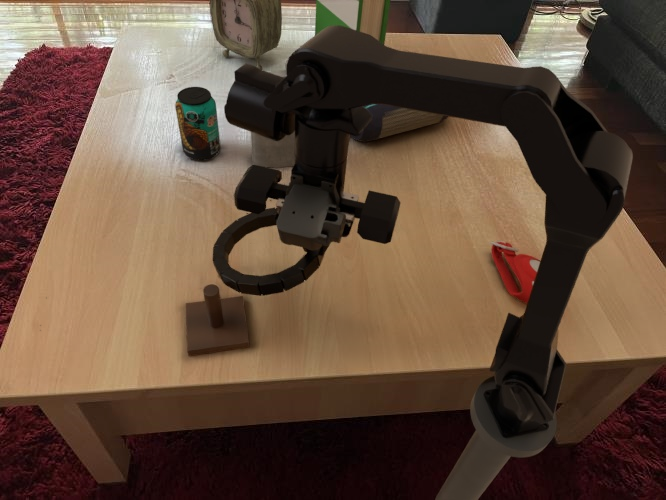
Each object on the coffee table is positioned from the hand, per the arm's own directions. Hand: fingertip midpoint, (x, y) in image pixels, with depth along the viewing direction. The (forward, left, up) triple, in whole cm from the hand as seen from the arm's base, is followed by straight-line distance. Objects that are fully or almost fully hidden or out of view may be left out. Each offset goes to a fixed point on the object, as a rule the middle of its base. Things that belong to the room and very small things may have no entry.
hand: (314, 251), depth 67 cm
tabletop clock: (+75, 0, -12) cm, 76 cm away
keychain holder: (0, -33, -10) cm, 35 cm away
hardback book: (+65, -21, -12) cm, 70 cm away
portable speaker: (+43, -27, -12) cm, 52 cm away
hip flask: (+35, -4, -12) cm, 38 cm away
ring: (+3, +5, -3) cm, 7 cm away
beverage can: (+40, +13, -12) cm, 44 cm away
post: (-1, +13, -12) cm, 18 cm away
